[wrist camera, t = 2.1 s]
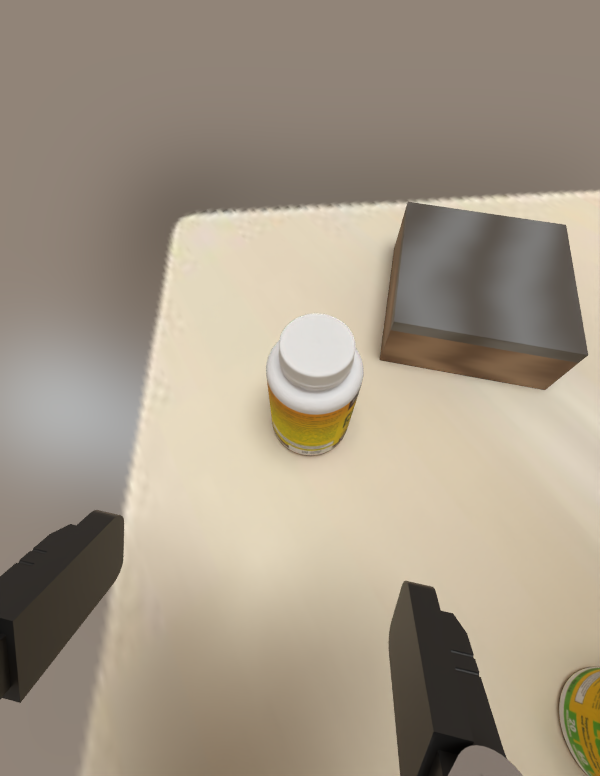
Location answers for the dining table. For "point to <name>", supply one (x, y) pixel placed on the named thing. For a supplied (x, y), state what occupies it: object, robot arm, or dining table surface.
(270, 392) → the supplement bottle
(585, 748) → the supplement bottle
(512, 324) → the block
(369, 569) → the dining table surface
